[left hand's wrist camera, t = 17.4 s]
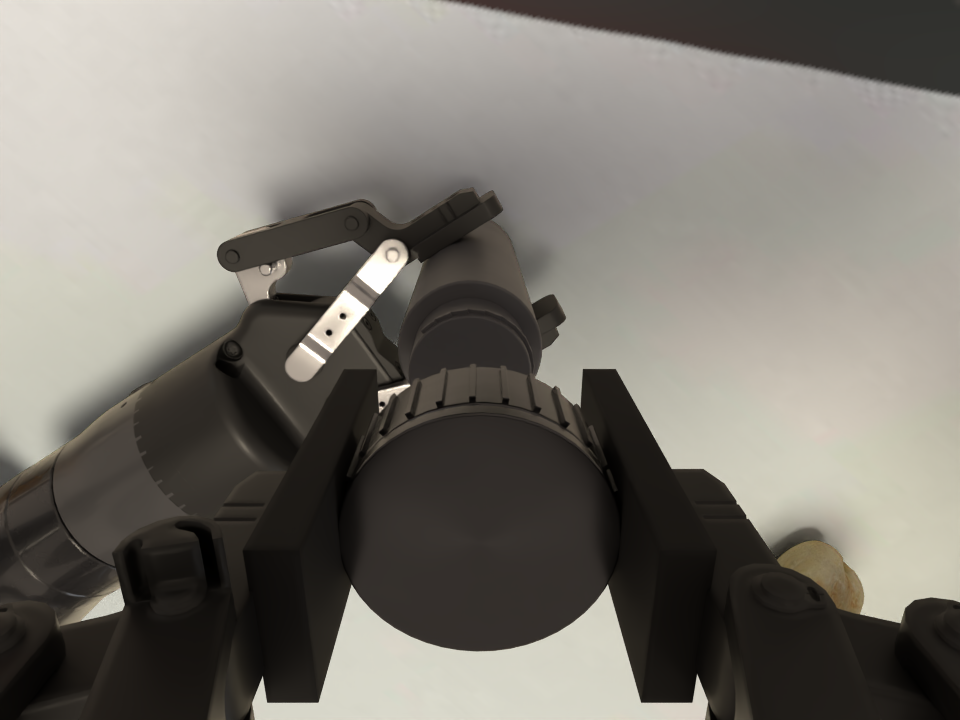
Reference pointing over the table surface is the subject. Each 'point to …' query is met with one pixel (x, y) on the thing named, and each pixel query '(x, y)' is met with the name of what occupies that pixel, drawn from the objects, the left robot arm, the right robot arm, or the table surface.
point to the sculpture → (826, 573)
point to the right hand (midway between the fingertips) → (527, 255)
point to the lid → (479, 511)
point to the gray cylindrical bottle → (470, 310)
